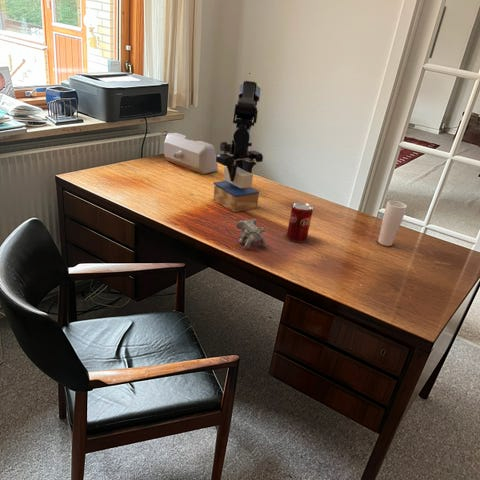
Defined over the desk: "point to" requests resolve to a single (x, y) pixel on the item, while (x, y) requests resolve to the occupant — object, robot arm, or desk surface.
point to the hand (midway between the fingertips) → (237, 180)
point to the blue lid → (235, 189)
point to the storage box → (235, 200)
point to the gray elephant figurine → (250, 232)
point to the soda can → (299, 222)
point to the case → (239, 178)
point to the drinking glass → (391, 222)
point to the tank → (190, 153)
